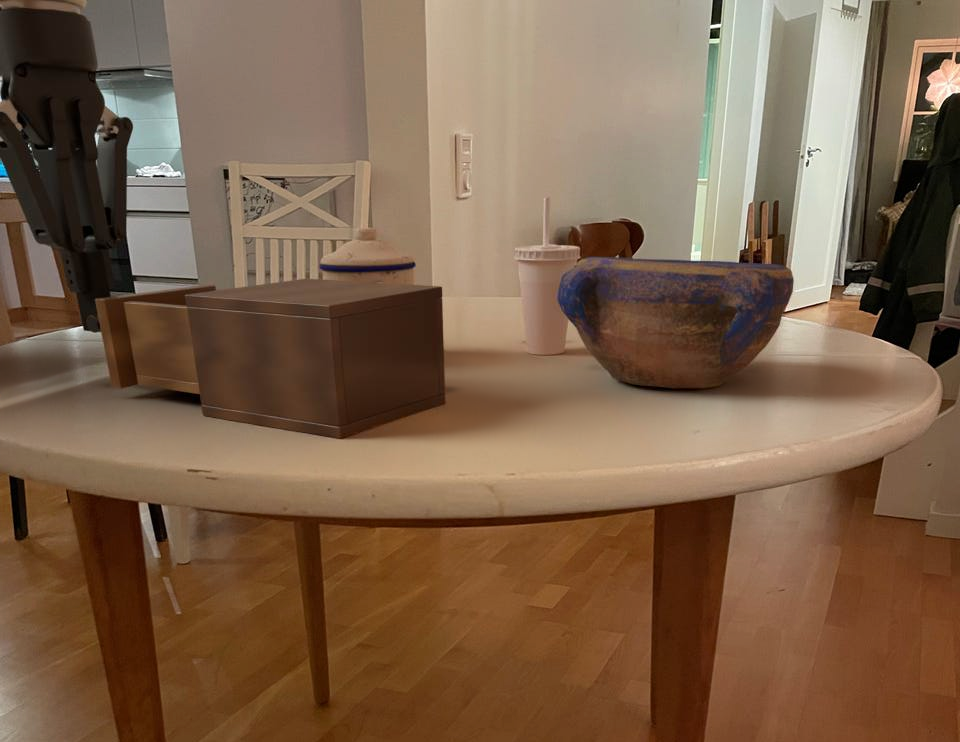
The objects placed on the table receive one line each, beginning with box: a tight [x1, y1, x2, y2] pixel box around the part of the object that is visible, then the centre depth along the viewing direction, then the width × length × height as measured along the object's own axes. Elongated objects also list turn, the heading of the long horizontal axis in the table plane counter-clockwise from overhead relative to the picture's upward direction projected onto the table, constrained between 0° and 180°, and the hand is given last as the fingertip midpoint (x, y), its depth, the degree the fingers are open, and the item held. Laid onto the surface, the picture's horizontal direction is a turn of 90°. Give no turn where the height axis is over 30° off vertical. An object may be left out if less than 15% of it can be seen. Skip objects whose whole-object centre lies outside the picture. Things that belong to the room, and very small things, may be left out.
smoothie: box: [513, 196, 582, 356], centre depth 89 cm, size 6×6×14 cm
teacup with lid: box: [319, 227, 417, 285], centre depth 87 cm, size 12×9×12 cm
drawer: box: [87, 284, 222, 395], centre depth 76 cm, size 18×11×7 cm, turn 57°
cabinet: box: [185, 278, 446, 439], centre depth 69 cm, size 14×13×9 cm
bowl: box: [557, 256, 795, 390], centre depth 77 cm, size 18×18×10 cm
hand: (100, 330), depth 82 cm, fingers closed
